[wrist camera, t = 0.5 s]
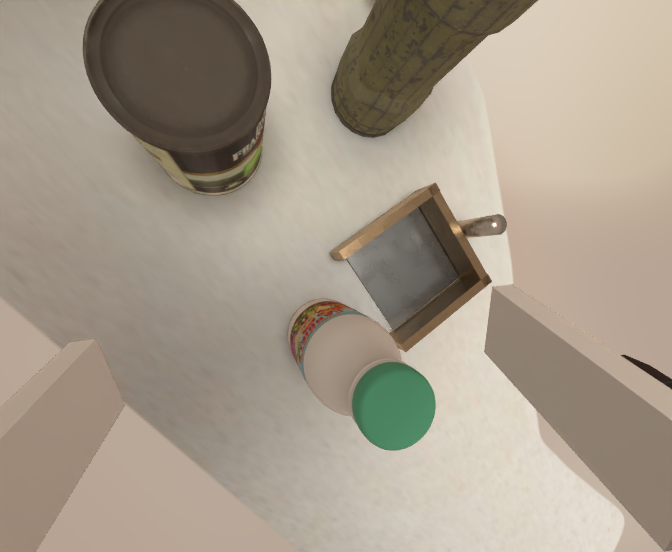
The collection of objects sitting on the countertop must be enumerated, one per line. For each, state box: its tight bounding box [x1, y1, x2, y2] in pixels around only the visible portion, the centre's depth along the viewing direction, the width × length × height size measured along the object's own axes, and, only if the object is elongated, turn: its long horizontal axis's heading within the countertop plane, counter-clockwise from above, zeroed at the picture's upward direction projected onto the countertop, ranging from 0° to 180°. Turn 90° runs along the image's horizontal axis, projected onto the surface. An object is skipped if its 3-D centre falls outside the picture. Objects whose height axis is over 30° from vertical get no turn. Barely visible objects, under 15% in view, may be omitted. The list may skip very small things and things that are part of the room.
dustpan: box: [330, 183, 507, 352], centre depth 36 cm, size 15×13×8 cm
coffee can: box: [83, 0, 271, 195], centre depth 26 cm, size 10×10×14 cm
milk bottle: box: [288, 299, 436, 450], centre depth 27 cm, size 8×8×20 cm
